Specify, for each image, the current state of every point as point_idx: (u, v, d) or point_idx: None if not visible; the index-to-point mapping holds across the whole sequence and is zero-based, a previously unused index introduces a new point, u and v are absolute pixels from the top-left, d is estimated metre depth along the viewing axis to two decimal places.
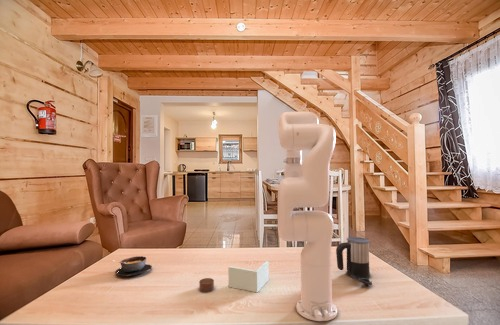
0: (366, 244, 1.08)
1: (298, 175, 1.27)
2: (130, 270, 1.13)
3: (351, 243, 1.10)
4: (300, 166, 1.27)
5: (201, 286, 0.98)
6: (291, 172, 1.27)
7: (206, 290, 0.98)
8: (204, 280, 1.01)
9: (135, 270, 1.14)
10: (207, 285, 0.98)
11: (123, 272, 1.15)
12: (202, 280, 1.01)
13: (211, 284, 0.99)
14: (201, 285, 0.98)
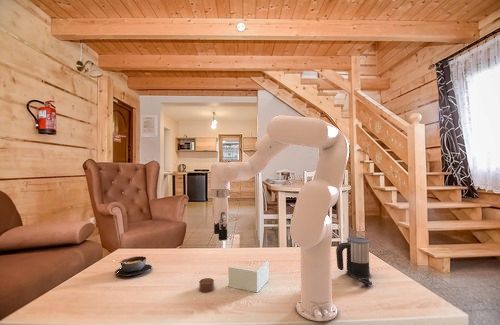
0: (366, 244, 1.08)
1: (214, 211, 1.02)
2: (130, 270, 1.13)
3: (351, 243, 1.10)
4: (215, 200, 1.02)
5: (201, 286, 0.98)
6: (212, 206, 1.06)
7: (206, 290, 0.98)
8: (204, 280, 1.01)
9: (135, 270, 1.14)
10: (207, 285, 0.98)
11: (123, 272, 1.15)
12: (202, 280, 1.01)
13: (211, 284, 0.99)
14: (201, 285, 0.98)
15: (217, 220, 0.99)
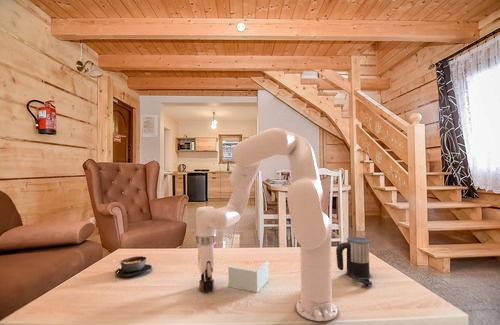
0: (366, 244, 1.08)
1: (199, 259, 0.98)
2: (130, 270, 1.13)
3: (351, 243, 1.10)
4: (200, 248, 0.97)
5: (201, 286, 0.98)
6: (198, 252, 1.01)
7: None
8: None
9: (135, 270, 1.14)
10: None
11: (123, 272, 1.15)
12: (202, 280, 1.01)
13: None
14: (201, 285, 0.98)
15: (202, 270, 0.95)
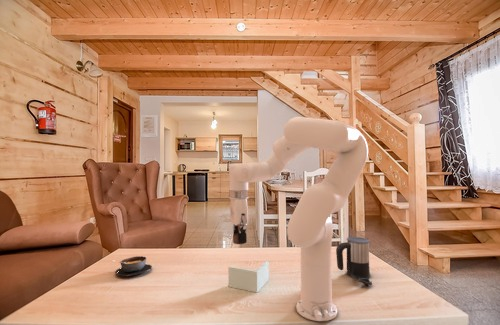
0: (366, 244, 1.08)
1: (233, 212, 1.02)
2: (130, 270, 1.13)
3: (351, 243, 1.10)
4: (234, 201, 1.01)
5: (235, 239, 1.02)
6: (231, 207, 1.05)
7: None
8: (237, 234, 1.04)
9: (135, 270, 1.14)
10: None
11: (123, 272, 1.15)
12: (235, 234, 1.04)
13: None
14: (235, 238, 1.02)
15: (238, 221, 0.99)
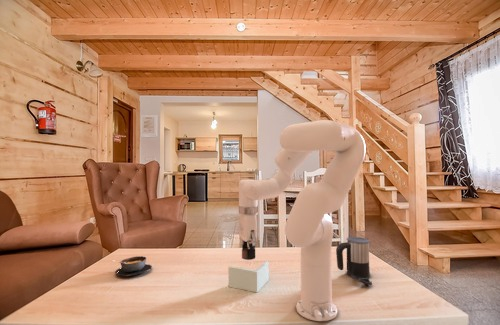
0: (366, 244, 1.08)
1: (242, 228, 1.03)
2: (130, 270, 1.13)
3: (351, 243, 1.10)
4: (244, 218, 1.02)
5: (244, 254, 1.03)
6: (240, 223, 1.06)
7: None
8: (246, 249, 1.06)
9: (135, 270, 1.14)
10: None
11: (123, 272, 1.15)
12: (244, 249, 1.06)
13: None
14: (244, 253, 1.03)
15: (247, 238, 1.00)
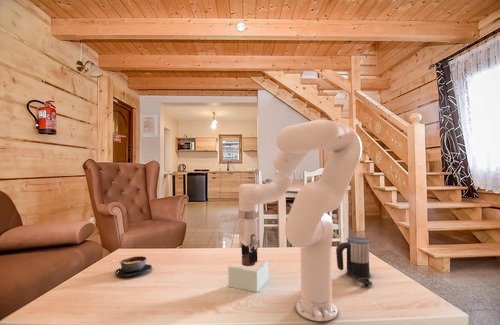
0: (366, 244, 1.08)
1: (243, 233, 1.03)
2: (130, 270, 1.13)
3: (351, 243, 1.10)
4: (244, 222, 1.02)
5: (244, 261, 1.03)
6: (240, 227, 1.06)
7: (249, 264, 1.03)
8: (246, 255, 1.06)
9: (135, 270, 1.14)
10: None
11: (123, 272, 1.15)
12: (244, 255, 1.06)
13: None
14: (244, 259, 1.03)
15: (247, 242, 1.00)
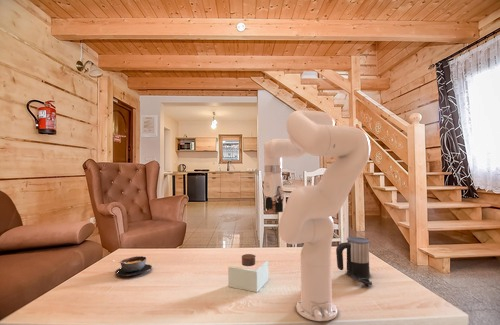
0: (366, 244, 1.08)
1: (269, 186, 1.10)
2: (130, 270, 1.13)
3: (351, 243, 1.10)
4: (270, 175, 1.10)
5: (244, 261, 1.03)
6: (265, 182, 1.14)
7: (249, 264, 1.03)
8: (246, 255, 1.06)
9: (135, 270, 1.14)
10: (250, 259, 1.03)
11: (123, 272, 1.15)
12: (244, 255, 1.06)
13: (253, 259, 1.04)
14: (244, 259, 1.03)
15: (274, 193, 1.07)
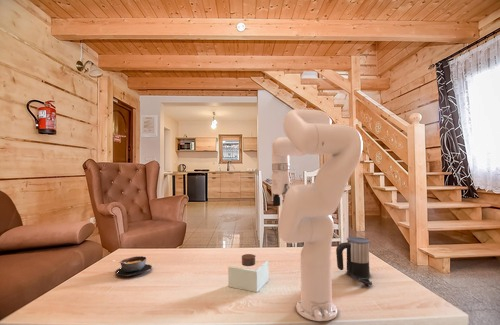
0: (366, 244, 1.08)
1: (276, 183, 1.13)
2: (130, 270, 1.13)
3: (351, 243, 1.10)
4: (277, 173, 1.12)
5: (244, 261, 1.03)
6: (273, 179, 1.16)
7: (249, 264, 1.03)
8: (246, 255, 1.06)
9: (135, 270, 1.14)
10: (250, 259, 1.03)
11: (123, 272, 1.15)
12: (244, 255, 1.06)
13: (253, 259, 1.04)
14: (244, 259, 1.03)
15: (281, 191, 1.10)
